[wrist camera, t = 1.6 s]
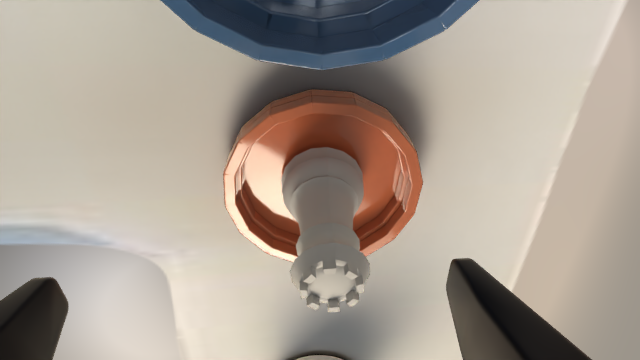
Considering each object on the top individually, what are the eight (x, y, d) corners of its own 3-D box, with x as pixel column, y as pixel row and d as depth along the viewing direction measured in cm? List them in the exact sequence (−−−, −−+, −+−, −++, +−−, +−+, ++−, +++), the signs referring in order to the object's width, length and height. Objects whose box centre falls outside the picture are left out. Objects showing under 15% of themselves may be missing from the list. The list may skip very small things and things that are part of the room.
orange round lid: (354, 261, 27) (358, 284, 25) (203, 208, 24) (196, 230, 22) (449, 137, 22) (461, 156, 20) (275, 50, 19) (273, 64, 17)
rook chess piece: (283, 139, 21) (277, 245, 14) (368, 145, 21) (400, 252, 15) (279, 207, 23) (271, 325, 17) (355, 212, 24) (377, 329, 17)
